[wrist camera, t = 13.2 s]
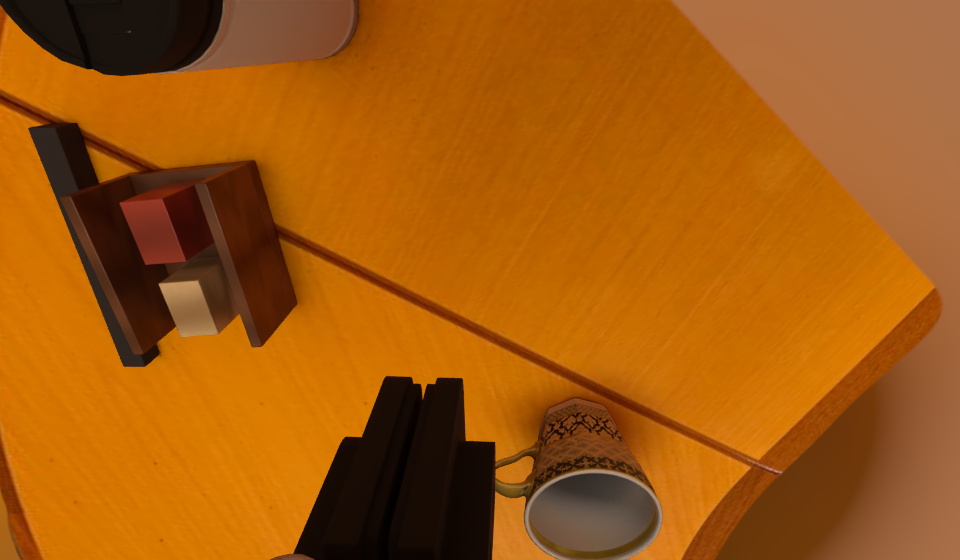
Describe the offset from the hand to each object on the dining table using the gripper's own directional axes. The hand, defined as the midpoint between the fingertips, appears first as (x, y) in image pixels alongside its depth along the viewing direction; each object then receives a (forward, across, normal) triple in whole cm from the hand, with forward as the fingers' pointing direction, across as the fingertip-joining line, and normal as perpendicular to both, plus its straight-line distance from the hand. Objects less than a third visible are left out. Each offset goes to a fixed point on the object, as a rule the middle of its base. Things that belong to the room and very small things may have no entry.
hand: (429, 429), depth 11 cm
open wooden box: (+27, +22, +7) cm, 36 cm away
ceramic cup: (+27, -6, +24) cm, 37 cm away
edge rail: (+27, +31, +8) cm, 42 cm away
